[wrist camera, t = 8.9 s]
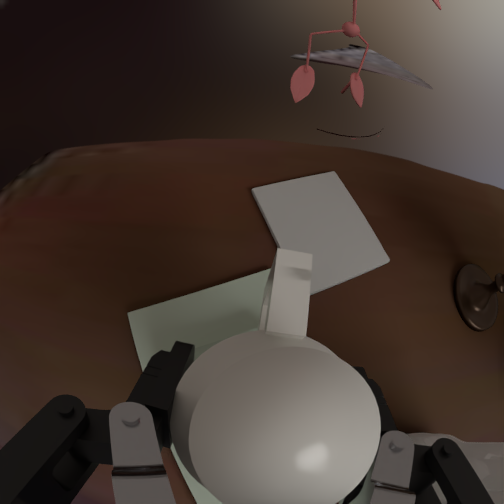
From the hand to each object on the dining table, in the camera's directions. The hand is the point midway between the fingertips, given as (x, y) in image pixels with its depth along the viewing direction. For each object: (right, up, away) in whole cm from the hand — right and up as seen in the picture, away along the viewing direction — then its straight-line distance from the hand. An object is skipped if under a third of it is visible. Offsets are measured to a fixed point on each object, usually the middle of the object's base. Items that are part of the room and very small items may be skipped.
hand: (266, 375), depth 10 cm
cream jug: (0, -3, +4) cm, 5 cm away
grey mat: (+7, +8, +19) cm, 22 cm away
